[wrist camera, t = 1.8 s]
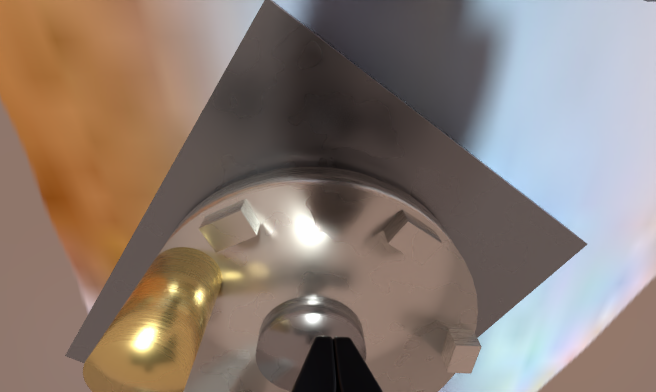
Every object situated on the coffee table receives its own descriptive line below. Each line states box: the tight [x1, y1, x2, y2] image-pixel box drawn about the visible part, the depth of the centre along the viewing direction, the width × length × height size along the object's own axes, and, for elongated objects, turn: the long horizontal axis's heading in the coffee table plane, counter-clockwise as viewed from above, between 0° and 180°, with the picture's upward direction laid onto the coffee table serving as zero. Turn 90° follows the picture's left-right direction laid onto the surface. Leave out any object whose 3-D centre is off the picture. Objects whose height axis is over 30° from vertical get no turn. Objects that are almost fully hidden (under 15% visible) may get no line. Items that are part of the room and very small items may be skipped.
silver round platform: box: [83, 166, 481, 392], centre depth 16 cm, size 16×16×7 cm
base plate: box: [65, 0, 587, 363], centre depth 20 cm, size 22×19×2 cm
